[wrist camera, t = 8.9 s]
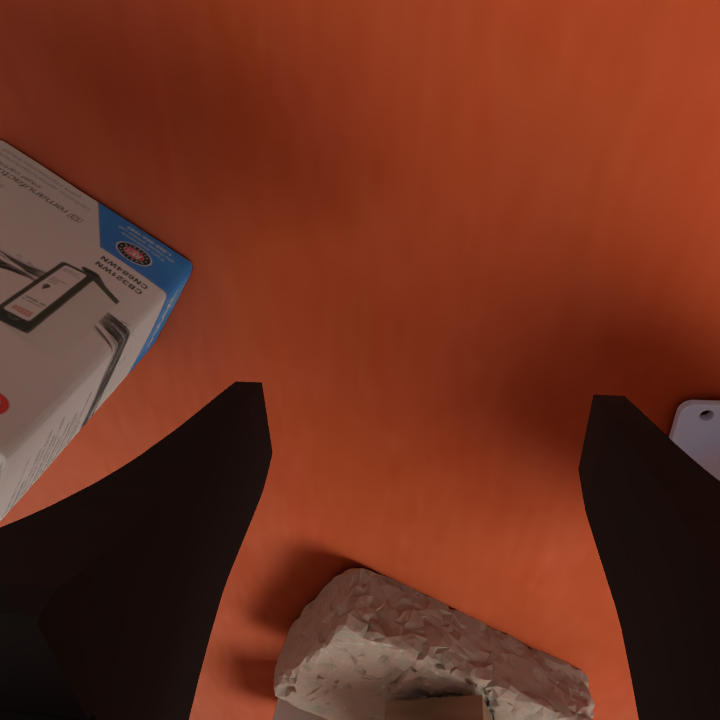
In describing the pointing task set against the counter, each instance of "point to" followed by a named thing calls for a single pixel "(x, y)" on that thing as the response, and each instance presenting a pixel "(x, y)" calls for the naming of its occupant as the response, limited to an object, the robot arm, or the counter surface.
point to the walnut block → (439, 709)
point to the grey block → (292, 712)
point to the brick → (414, 657)
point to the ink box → (68, 312)
